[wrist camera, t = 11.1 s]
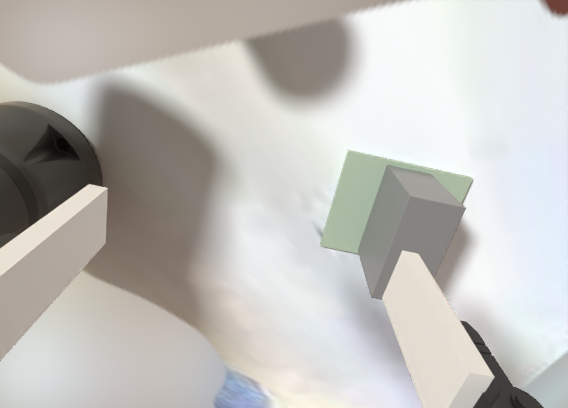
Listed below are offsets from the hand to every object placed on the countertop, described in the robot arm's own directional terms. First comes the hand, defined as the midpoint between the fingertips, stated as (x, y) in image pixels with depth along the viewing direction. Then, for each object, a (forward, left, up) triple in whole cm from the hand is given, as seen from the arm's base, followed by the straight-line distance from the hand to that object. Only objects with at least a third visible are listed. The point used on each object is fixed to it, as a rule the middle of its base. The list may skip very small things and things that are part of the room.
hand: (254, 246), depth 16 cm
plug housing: (+15, -7, -24) cm, 29 cm away
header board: (+15, -7, -25) cm, 30 cm away
